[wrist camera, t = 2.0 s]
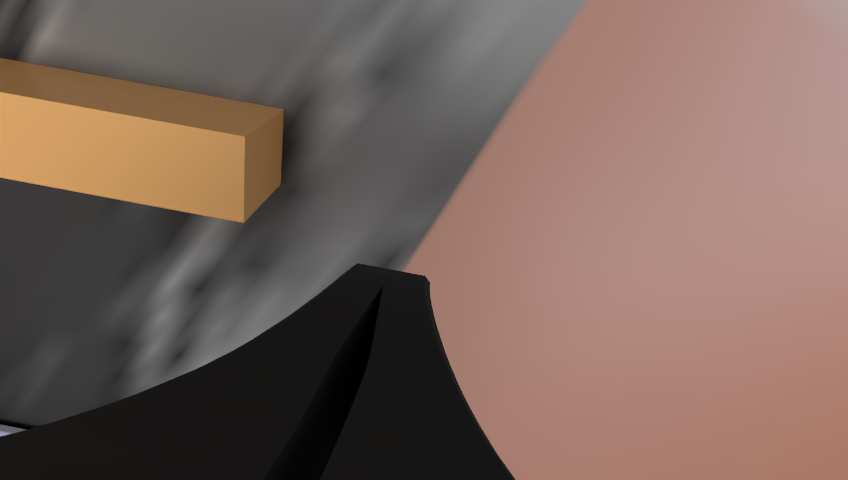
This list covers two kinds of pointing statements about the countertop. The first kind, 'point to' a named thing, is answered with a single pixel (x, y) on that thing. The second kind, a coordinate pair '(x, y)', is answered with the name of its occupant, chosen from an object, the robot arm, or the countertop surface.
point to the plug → (137, 141)
